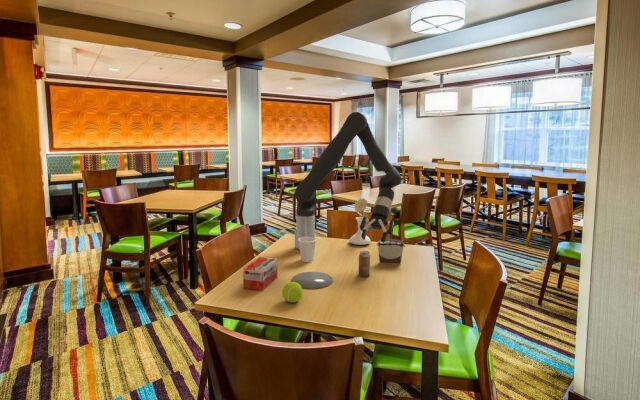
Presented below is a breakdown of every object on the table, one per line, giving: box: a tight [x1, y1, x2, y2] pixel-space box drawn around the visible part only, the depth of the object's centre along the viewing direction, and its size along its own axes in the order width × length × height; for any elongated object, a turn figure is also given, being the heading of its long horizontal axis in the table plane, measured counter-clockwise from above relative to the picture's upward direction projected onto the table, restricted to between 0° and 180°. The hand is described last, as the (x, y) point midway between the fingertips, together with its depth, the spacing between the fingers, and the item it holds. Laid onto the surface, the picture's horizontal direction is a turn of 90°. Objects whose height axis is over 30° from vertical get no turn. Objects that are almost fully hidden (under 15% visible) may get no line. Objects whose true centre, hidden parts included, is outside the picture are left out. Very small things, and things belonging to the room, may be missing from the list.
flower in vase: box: [348, 197, 372, 246], centre depth 202 cm, size 13×11×25 cm
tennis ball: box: [281, 281, 304, 303], centre depth 134 cm, size 7×7×7 cm
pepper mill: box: [357, 250, 371, 279], centre depth 158 cm, size 5×5×10 cm
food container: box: [376, 238, 405, 265], centre depth 176 cm, size 12×6×10 cm, turn 84°
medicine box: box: [242, 256, 278, 292], centre depth 151 cm, size 15×8×8 cm, turn 164°
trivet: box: [291, 271, 333, 290], centre depth 153 cm, size 16×16×1 cm
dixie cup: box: [298, 237, 317, 263], centre depth 177 cm, size 8×8×10 cm
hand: (372, 239), depth 165 cm, fingers open, 8 cm apart
